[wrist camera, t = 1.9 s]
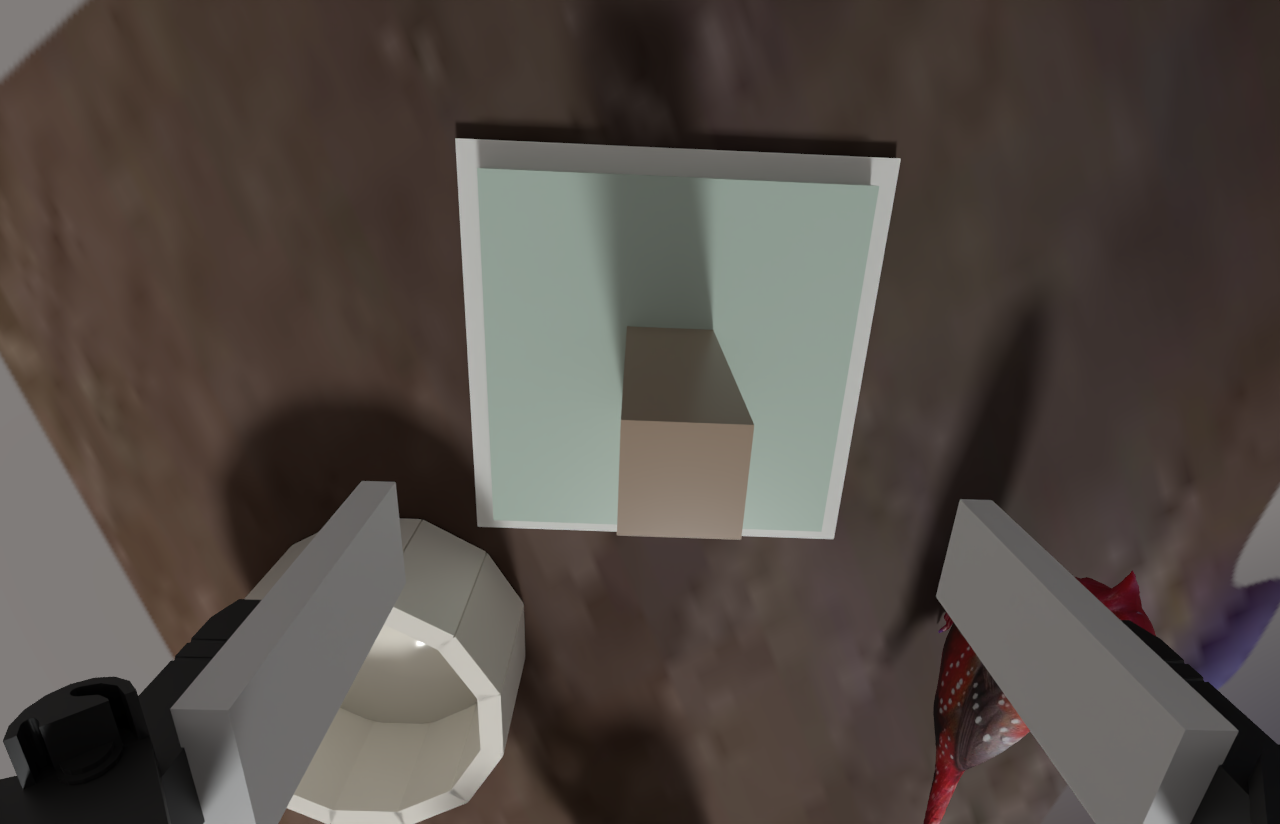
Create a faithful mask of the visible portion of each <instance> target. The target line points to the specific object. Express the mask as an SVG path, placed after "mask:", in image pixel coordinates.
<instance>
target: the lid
mask: <svg viewBox="0 0 1280 824" xmlns="http://www.w3.org/2000/svg"><path fill="white" fill-rule="evenodd" d="M477 179H478V200H479V222H480V243H481V264H482V286H483V307H484V329H485V350H486V371H487V393H488V414H489V435H490V457H491V478H492V500H493V520H504V521H532V522H561V523H589V524H617V535H621V536H649V537H678V538H707V539H736V540H741V537H742V529H760V530H789V531H817V532H821V531H822V525H823V519H824V513H825V507H826V501H827V495H828V489H829V483H830V477H831V472H832V466H833V460H834V454H835V448H836V442H837V436H838V430H839V424H840V418H841V412H842V406H843V400H844V394H845V388H846V382H847V376H848V370H849V364H850V358H851V352H852V346H853V340H854V334H855V328H856V322H857V316H858V310H859V304H860V299H861V293H862V287H863V281H864V275H865V269H866V263H867V257H868V251H869V245H870V239H871V233H872V227H873V221H874V215H875V209H876V203H877V197H878V191H879V186H875V185H860V184H837V183H815V182H793V181H770V180H748V179H726V178H703V177H681V176H659V175H636V174H614V173H592V172H569V171H547V170H525V169H502V168H477Z"/></svg>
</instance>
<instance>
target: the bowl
mask: <svg viewBox="0 0 1280 824" xmlns="http://www.w3.org/2000/svg"><path fill="white" fill-rule="evenodd" d="M399 519H400V529H401V538H402V548H403V558H404V567H405V577H406V584H405V586H404V588H403V590H402V591H401V593H400V595H399V597H398V599H397V601H396V603H395V605H394V606H393V608H392V610H391V612H390V614H389V616H388V618H387V620H386V622H385V623H384V625H383V627H382V629H381V631H380V633H379V635H378V637H377V638H376V640H375V642H374V644H373V646H372V648H371V650H370V652H369V654H368V655H367V657H366V659H365V661H364V663H363V665H362V667H361V669H360V670H359V672H358V674H357V676H356V678H355V680H354V682H353V684H352V686H351V687H350V689H349V691H348V693H347V695H346V697H345V699H344V701H343V702H342V704H341V706H340V708H339V710H338V712H337V714H336V716H335V718H334V719H333V721H332V723H331V725H330V727H329V729H328V731H327V733H326V734H325V736H324V738H323V740H322V742H321V744H320V746H319V748H318V749H317V751H316V753H315V755H314V757H313V759H312V761H311V763H310V765H309V766H308V768H307V770H306V772H305V774H304V776H303V778H302V780H301V781H300V783H299V785H298V787H297V789H296V791H295V793H294V795H293V797H292V798H291V800H290V802H289V804H288V806H287V808H288V809H291V810H293V811H296V812H298V813H301V814H303V815H306V816H308V817H311V818H313V819H316V820H318V821H321V822H323V823H326V824H330V823H331V824H414V823H417V822H420V821H422V820H425V819H427V818H430V817H432V816H435V815H437V814H440V813H442V812H445V811H448V810H450V809H453V808H455V807H458V806H460V805H463V804H465V803H467V802H469V800H470V799H471V798H472V796H473V795H474V794H475V792H476V791H477V790H478V788H479V787H480V786H481V784H482V783H483V782H484V780H485V779H486V778H487V776H488V775H489V774H490V773H491V771H492V770H493V769H494V767H495V766H496V765H497V763H498V762H499V761H500V759H501V758H502V757H503V755H504V750H505V746H506V741H507V737H508V732H509V728H510V723H511V719H512V715H513V710H514V706H515V701H516V697H517V692H518V688H519V683H520V679H521V675H522V670H523V666H524V661H525V626H524V604H523V602H522V600H521V599H520V598H519V596H518V595H517V593H516V592H515V591H514V589H513V588H512V586H511V585H510V584H509V582H508V581H507V579H506V578H505V577H504V575H503V574H502V572H501V571H500V570H499V568H498V567H497V566H496V564H495V563H494V561H493V560H492V559H491V557H490V556H489V554H488V553H486V551H484V550H482V549H480V548H478V547H476V546H474V545H472V544H470V543H468V542H466V541H464V540H462V539H460V538H458V537H456V536H454V535H452V534H450V533H448V532H446V531H445V530H443V529H441V528H439V527H437V526H435V525H433V524H431V523H429V522H427V521H425V520H423V521H422V519H403V518H399ZM317 534H318V533H316V534H314V535H312V536H310V537H308V538H306V539H304V540H301V541H299V542H297V543H295V544H293V545H292V546H291V547H290V548H289V549H288V550H287V551H286V553H285V554H284V555H283V556H282V557H281V558H280V559H279V560H278V562H277V563H276V564H275V565H274V566H273V567H272V568H271V569H270V571H269V572H268V573H267V574H266V575H265V576H264V577H263V578H262V580H261V581H260V582H259V583H258V584H257V585H256V586H255V587H254V589H253V590H252V591H251V592H250V593H249V594H248V595H247V596H246V598H245V599H249V600H262V599H263V598H264V597H265V596H266V594H267V593H268V592H269V591H270V590H271V588H272V587H273V586H274V585H275V584H276V582H277V581H278V580H279V579H280V578H281V576H282V575H283V574H284V573H285V572H286V571H287V569H288V568H289V567H290V566H291V565H292V563H293V562H294V561H295V560H296V559H297V557H298V556H299V555H300V554H301V553H302V551H303V550H304V549H305V548H306V547H307V546H308V544H309V543H310V542H311V541H312V540H313V538H314V537H315V536H316V535H317ZM485 553H486V554H485Z"/></svg>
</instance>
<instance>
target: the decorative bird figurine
mask: <svg viewBox="0 0 1280 824" xmlns="http://www.w3.org/2000/svg"><path fill="white" fill-rule="evenodd" d="M1075 578H1076V579H1077V580H1078V581H1079V582H1080V583H1081V584H1082V585H1083V586H1084V587H1085V588H1086V589H1088V590H1089V591H1090V592H1091V593H1092V594H1093V595H1094V596H1095V597H1096V598H1097V599H1098V600H1099V601H1100V602H1101V603H1103V604H1104V605H1105V606H1106V607H1107V608H1108V609H1109V610H1110V611H1111V612H1112V613H1113V614H1114V615H1115V616H1116V617H1117V618H1119V619H1120V620H1130V621H1132V622H1133V623H1135V624H1137V625H1138V626H1140V627H1142V628H1143V629H1145V630H1147V631H1148V632H1150V633H1151V634H1153V635H1155V631H1154V629H1153V626H1152V624H1151V622H1150V620H1149V618H1148V616H1147V615H1146V614H1145V612H1144V611H1143V609H1142V605H1141V599H1140V596H1139V593H1140V592H1139V586H1138V584H1137V581H1136V576H1135V574H1134V572H1133V571H1131V573H1130V574H1129V575H1128V576H1127V577H1125V579H1124V580H1123V581H1122V582H1120V583H1119V584H1118V585H1117V586H1115V587H1113V588H1112V589H1111V588H1109V587H1108V586H1106V585H1104V584H1102V583H1100V582H1098V581H1096V580H1093V579H1091V578H1087V577H1086V578H1082V579H1080V578H1077V577H1075ZM944 619H945V621H946V625H945V626H944V627H942V628H941V629H940V630H939V633H940V632H944V631H946V630H948V629H949V628H950V626H951V625H952V627H951V629H950V631H949V633H948V636H947V638H946V641H945V644H944V648H943V653H942V659H941V666H940V674H939V680H938V686H937V690H936V695H935V700H934V728H935V738H936V764H935V773H934V779H933V783H932V787H931V791H930V796H929V800H928V805H927V810H926V814H925V819H924V824H940V822H941V820H942V818H943V815H944V813H945V810H946V808H947V806H948V804H949V801H950V799H951V797H952V795H953V792H954V790H955V788H956V785H957V783H958V781H959V779H960V777H961V776H962V774H963V772H964V771H965V770H967V769H969V768H972V767H974V766H977V765H979V764H981V763H983V762H985V761H987V760H989V759H991V758H992V757H994V756H996V755H998V754H1000V753H1001V752H1003V751H1005V750H1006V749H1007V748H1009V747H1010V746H1012V745H1013V744H1014V743H1016V742H1018V741H1019V740H1020V739H1021V738H1023V737H1024V736H1025V735H1026V734H1027V733H1028V732H1030V730H1029V728H1028V727H1027V726H1026V724H1025V723H1024V721H1023V720H1022V719H1021V717H1020V716H1019V714H1018V713H1017V711H1016V710H1015V709H1014V707H1013V706H1012V704H1011V703H1010V701H1009V700H1008V699H1007V697H1006V696H1005V694H1004V693H1003V692H1002V690H1001V689H1000V687H999V686H998V684H997V683H996V682H995V680H994V679H993V677H992V676H991V674H990V673H989V672H988V670H987V669H986V667H985V666H984V665H983V663H982V662H981V660H980V659H979V657H978V656H977V655H976V653H975V652H974V650H973V649H972V647H971V646H970V645H969V643H968V642H967V640H966V639H965V637H964V636H963V635H962V633H961V632H960V630H959V629H958V628H957V626H956V625H955V623H954V622H953V620H952V619H951V618H950V616H949V615H948V613H947V612H946V614H945V615H944ZM1155 636H1156V635H1155Z"/></svg>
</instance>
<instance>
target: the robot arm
mask: <svg viewBox="0 0 1280 824" xmlns="http://www.w3.org/2000/svg"><path fill="white" fill-rule="evenodd" d="M405 584H406V577H405V567H404V558H403V548H402V538H401V529H400V519H399V510H398V500H397V490H396V482H383V481H361V482H360V484H359V485H358V486H357V487H356V488H355V490H354V491H353V492H352V493H351V494H350V496H349V497H348V498H347V499H346V500H345V501H344V503H343V504H342V505H341V506H340V507H339V509H338V510H337V511H336V512H335V513H334V515H333V516H332V517H331V518H330V519H329V521H328V522H327V523H326V524H325V525H324V526H323V528H322V529H321V530H320V531H319V532H318V534H317V535H316V536H315V537H314V538H313V540H312V541H311V542H310V543H309V544H308V546H307V547H306V548H305V549H304V550H303V551H302V553H301V554H300V555H299V556H298V557H297V559H296V560H295V561H294V562H293V563H292V565H291V566H290V567H289V568H288V569H287V571H286V572H285V573H284V574H283V575H282V576H281V578H280V579H279V580H278V581H277V582H276V584H275V585H274V586H273V587H272V588H271V590H270V591H269V592H268V593H267V594H266V596H265V597H264V598H263V599H262V600H249V599H239V600H237V601H236V602H234V603H233V604H231V605H229V606H228V607H226V608H225V609H223V610H222V611H220V612H218V613H217V614H215V615H214V616H212V617H211V618H210V619H209V620H208V621H207V622H206V623H205V624H204V625H203V626H202V628H201V629H200V630H199V631H198V632H197V633H196V634H195V635H194V636H193V637H192V638H191V643H187V644H186V645H185V646H184V647H183V648H182V649H181V650H180V652H179V653H178V654H177V655H176V656H175V660H174V661H170V662H169V664H168V665H167V666H166V667H165V668H164V669H163V670H162V671H161V672H160V673H159V674H158V676H157V677H156V678H155V679H154V680H153V681H152V682H151V683H150V684H149V685H148V686H147V688H145V690H144V691H143V692H142V693H141V694H140V695H139V696H138V695H137V692H136V689H135V688H134V687H133V685H132V684H131V682H130V681H127V680H124V679H121V678H117V677H103V678H102V677H101V678H92V679H88V680H85V681H81V682H77V683H73V684H70V685H68V686H65V687H63V688H61V689H59V690H57V691H55V692H52V693H50V694H48V695H46V696H44V697H43V698H41V699H40V700H38V701H37V702H36V703H34V704H32V705H31V706H29V707H28V708H26V709H25V710H24V711H23V712H22V713H21V714H20V715H19V716H18V717H17V718H16V719H15V720H14V721H13V722H12V723H11V725H9V727H8V730H7V732H6V735H5V737H4V740H3V742H4V745H5V747H6V750H7V752H8V754H9V757H10V759H11V762H12V764H13V766H14V769H15V771H16V774H17V776H14V777H9V778H5V779H1V780H0V824H278V823H279V821H280V819H281V817H282V815H283V813H284V812H285V810H286V808H287V806H288V804H289V802H290V800H291V798H292V797H293V795H294V793H295V791H296V789H297V787H298V785H299V783H300V781H301V780H302V778H303V776H304V774H305V772H306V770H307V768H308V766H309V765H310V763H311V761H312V759H313V757H314V755H315V753H316V751H317V749H318V748H319V746H320V744H321V742H322V740H323V738H324V736H325V734H326V733H327V731H328V729H329V727H330V725H331V723H332V721H333V719H334V718H335V716H336V714H337V712H338V710H339V708H340V706H341V704H342V702H343V701H344V699H345V697H346V695H347V693H348V691H349V689H350V687H351V686H352V684H353V682H354V680H355V678H356V676H357V674H358V672H359V670H360V669H361V667H362V665H363V663H364V661H365V659H366V657H367V655H368V654H369V652H370V650H371V648H372V646H373V644H374V642H375V640H376V638H377V637H378V635H379V633H380V631H381V629H382V627H383V625H384V623H385V622H386V620H387V618H388V616H389V614H390V612H391V610H392V608H393V606H394V605H395V603H396V601H397V599H398V597H399V595H400V593H401V591H402V590H403V588H404V586H405ZM936 598H937V599H938V601H939V602H940V603H941V605H942V606H943V608H944V609H945V610H946V612H947V613H948V615H949V616H950V618H951V619H952V620H953V622H954V623H955V625H956V626H957V628H958V629H959V630H960V632H961V633H962V635H963V636H964V637H965V639H966V640H967V642H968V643H969V645H970V646H971V647H972V649H973V650H974V652H975V653H976V655H977V656H978V657H979V659H980V660H981V662H982V663H983V665H984V666H985V667H986V669H987V670H988V672H989V673H990V674H991V676H992V677H993V679H994V680H995V682H996V683H997V684H998V686H999V687H1000V689H1001V690H1002V692H1003V693H1004V694H1005V696H1006V697H1007V699H1008V700H1009V701H1010V703H1011V704H1012V706H1013V707H1014V709H1015V710H1016V711H1017V713H1018V714H1019V716H1020V717H1021V719H1022V720H1023V721H1024V723H1025V724H1026V726H1027V727H1028V728H1029V730H1030V731H1031V733H1032V734H1033V736H1034V737H1035V738H1036V740H1037V741H1038V743H1039V744H1040V746H1041V747H1042V748H1043V750H1044V751H1045V753H1046V754H1047V756H1048V757H1049V758H1050V760H1051V761H1052V763H1053V764H1054V765H1055V767H1056V768H1057V770H1058V771H1059V773H1060V774H1061V775H1062V777H1063V778H1064V780H1065V781H1066V783H1067V784H1068V785H1069V787H1070V788H1071V790H1072V791H1073V792H1074V794H1075V795H1076V797H1077V798H1078V800H1079V801H1080V802H1081V804H1082V805H1083V807H1084V808H1085V809H1086V811H1087V812H1088V814H1089V815H1090V816H1091V818H1092V819H1093V821H1094V822H1095V824H1280V745H1278V744H1276V743H1275V742H1274V741H1273V740H1272V739H1271V738H1270V737H1269V736H1268V735H1266V734H1265V733H1264V732H1263V731H1262V730H1261V729H1260V728H1259V727H1258V726H1257V725H1255V724H1254V723H1253V722H1252V721H1251V720H1250V719H1249V718H1247V716H1245V715H1244V714H1243V713H1242V712H1241V711H1240V710H1239V709H1237V708H1236V707H1235V706H1234V705H1233V704H1232V703H1231V702H1230V701H1229V700H1228V699H1227V698H1225V697H1224V696H1223V695H1222V694H1221V693H1220V692H1219V691H1218V690H1217V689H1215V688H1214V687H1213V686H1212V685H1211V684H1210V683H1209V682H1204V680H1203V677H1202V676H1201V675H1200V674H1199V673H1198V672H1197V671H1195V670H1194V669H1193V668H1192V667H1191V666H1190V665H1189V664H1184V660H1183V659H1182V658H1181V657H1180V656H1179V655H1178V654H1177V653H1175V652H1174V651H1173V650H1172V649H1171V648H1170V647H1169V646H1168V645H1167V644H1165V643H1164V642H1163V641H1162V640H1161V639H1160V638H1158V637H1156V636H1155V635H1153V634H1151V633H1150V632H1148V631H1147V630H1145V629H1143V628H1142V627H1140V626H1138V625H1137V624H1135V623H1133V622H1132V621H1130V620H1120V619H1119V618H1117V617H1116V616H1115V615H1114V614H1113V613H1112V612H1111V611H1110V610H1109V609H1108V608H1107V607H1106V606H1105V605H1104V604H1103V603H1101V602H1100V601H1099V600H1098V599H1097V598H1096V597H1095V596H1094V595H1093V594H1092V593H1091V592H1090V591H1089V590H1088V589H1086V588H1085V587H1084V586H1083V585H1082V584H1081V583H1080V582H1079V581H1078V580H1077V579H1076V578H1075V577H1074V576H1073V575H1072V574H1070V573H1069V572H1068V571H1067V570H1066V569H1065V568H1064V567H1063V566H1062V565H1061V564H1060V563H1059V562H1058V561H1057V560H1055V559H1054V558H1053V557H1052V556H1051V555H1050V554H1049V553H1048V552H1047V551H1046V550H1045V549H1044V548H1043V547H1042V546H1040V545H1039V544H1038V543H1037V542H1036V541H1035V540H1034V539H1033V538H1032V537H1031V536H1030V535H1029V534H1028V533H1027V532H1026V531H1024V530H1023V529H1022V528H1021V527H1020V526H1019V525H1018V524H1017V523H1016V522H1015V521H1014V520H1013V519H1012V518H1011V517H1009V516H1008V515H1007V514H1006V513H1005V512H1004V511H1003V510H1002V509H1001V508H1000V507H999V506H998V505H997V504H996V503H994V502H993V501H992V500H971V499H960V501H959V505H958V509H957V513H956V517H955V521H954V525H953V529H952V533H951V537H950V541H949V545H948V549H947V553H946V557H945V561H944V565H943V569H942V574H941V578H940V582H939V586H938V590H937V594H936Z"/></svg>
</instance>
